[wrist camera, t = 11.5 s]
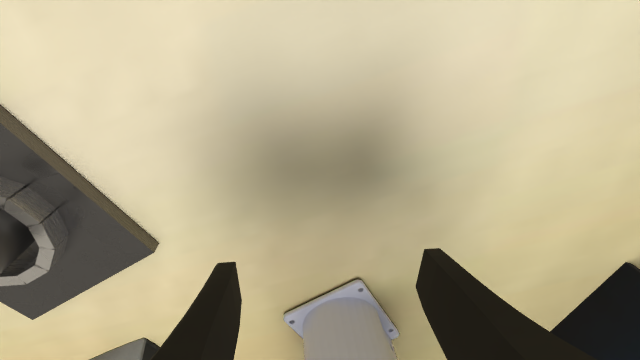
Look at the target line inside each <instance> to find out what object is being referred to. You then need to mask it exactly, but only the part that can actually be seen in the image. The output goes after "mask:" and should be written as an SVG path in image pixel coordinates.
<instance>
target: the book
mask: <svg viewBox="0 0 640 360" xmlns="http://www.w3.org/2000/svg"><path fill="white" fill-rule="evenodd" d="M551 333H552V334H554V335H556V336H557V337H559V338H560V339H562V340H564V341H565V342H567V343H569V344H571V345H572V346H574V347H576V348H578V349H579V350H581V351H583V352H585V353H586V354H588V355H590V356H592V357H594V358H595V359H597V360H640V269H638V268H637V267H636V266H634V265H633V264H630V263H627V262H626V263H625V264H623V265H622V266H621V267H620V268H619V269H618V270H617V271H616V272H615V273H614V274H613V275H612V276H610V277H609V278H608V279H607V280H606V281H605V282H604V283H603V284H602V285H601V286H600V287H598V288H597V289H596V290H595V291H594V292H593V293H592V294H591V295H590V296H589V297H588V298H587V299H585V300H584V301H583V302H582V303H581V304H580V305H579V306H578V307H577V308H576V309H575V310H573V311H572V312H571V313H570V314H569V315H568V316H567V317H566V318H565V319H564V320H563V321H562V322H560V323H559V324H558V325H557V326H556V327H555V328H554V329H553V330H552V331H551Z"/></svg>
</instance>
